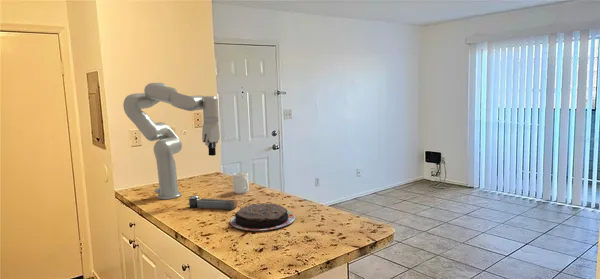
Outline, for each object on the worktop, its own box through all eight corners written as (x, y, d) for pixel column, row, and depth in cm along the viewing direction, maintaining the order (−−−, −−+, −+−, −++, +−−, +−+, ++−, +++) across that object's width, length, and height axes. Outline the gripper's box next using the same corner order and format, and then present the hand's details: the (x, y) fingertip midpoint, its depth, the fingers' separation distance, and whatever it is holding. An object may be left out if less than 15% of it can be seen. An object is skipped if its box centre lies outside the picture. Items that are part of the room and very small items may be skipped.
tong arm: (188, 206, 199) (188, 197, 198) (194, 203, 204) (194, 194, 203) (232, 209, 191) (231, 199, 190) (237, 206, 196) (236, 196, 195)
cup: (245, 188, 230) (243, 171, 228) (254, 193, 220) (253, 174, 218) (231, 191, 225) (230, 173, 224) (240, 195, 215) (239, 177, 214)
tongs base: (186, 208, 198) (186, 200, 197) (193, 204, 203) (192, 197, 203) (231, 210, 191) (231, 202, 190) (237, 206, 196) (236, 198, 195)
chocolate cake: (307, 215, 179) (306, 201, 178) (271, 237, 155) (270, 221, 154) (256, 208, 193) (255, 195, 192) (216, 227, 170) (215, 212, 169)
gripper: (212, 118, 217) (213, 152, 220) (196, 121, 203) (197, 157, 206) (224, 119, 215) (225, 153, 217) (209, 121, 201) (210, 158, 203)
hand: (212, 155), depth 212 cm, fingers closed
